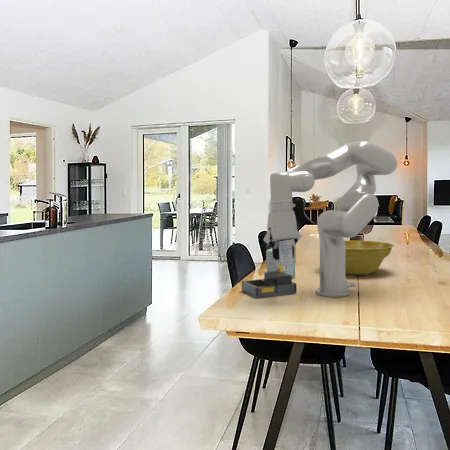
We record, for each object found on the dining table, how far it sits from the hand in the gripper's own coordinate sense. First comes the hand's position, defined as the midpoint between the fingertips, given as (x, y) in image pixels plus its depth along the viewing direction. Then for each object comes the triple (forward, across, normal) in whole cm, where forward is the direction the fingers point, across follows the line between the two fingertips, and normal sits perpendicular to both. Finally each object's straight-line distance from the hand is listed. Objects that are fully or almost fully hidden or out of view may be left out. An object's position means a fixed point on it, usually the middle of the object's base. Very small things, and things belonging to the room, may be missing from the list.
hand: (283, 257), depth 167 cm
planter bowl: (+18, -56, -31) cm, 66 cm away
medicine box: (+2, 0, 0) cm, 2 cm away
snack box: (+17, -15, -30) cm, 37 cm away
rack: (+16, -1, -14) cm, 21 cm away
